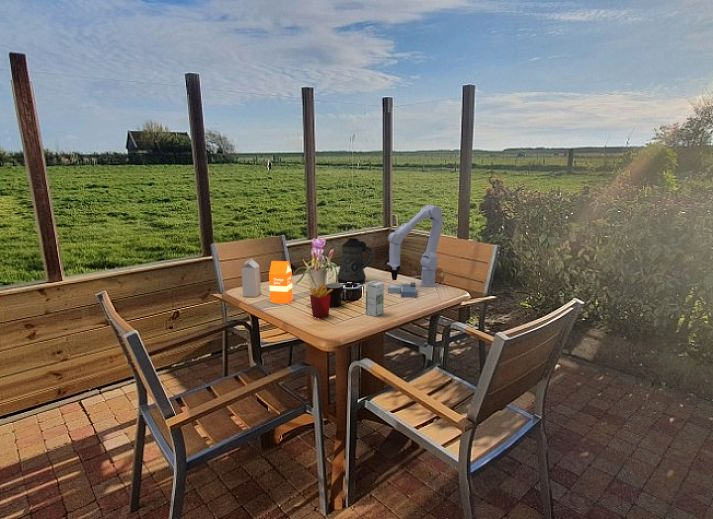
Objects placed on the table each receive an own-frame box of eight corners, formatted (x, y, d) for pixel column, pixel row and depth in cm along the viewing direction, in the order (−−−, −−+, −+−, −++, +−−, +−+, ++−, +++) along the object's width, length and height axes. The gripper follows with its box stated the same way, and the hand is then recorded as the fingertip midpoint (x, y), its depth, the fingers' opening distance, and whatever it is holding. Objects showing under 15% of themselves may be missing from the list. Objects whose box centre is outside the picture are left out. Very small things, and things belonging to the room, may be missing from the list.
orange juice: (287, 303, 203) (285, 263, 199) (270, 302, 205) (268, 262, 201) (292, 298, 211) (291, 259, 207) (276, 298, 212) (274, 259, 208)
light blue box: (388, 290, 225) (388, 284, 224) (400, 290, 224) (400, 284, 224) (387, 293, 219) (387, 287, 218) (400, 293, 218) (400, 287, 218)
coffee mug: (335, 309, 194) (335, 288, 192) (321, 306, 199) (321, 285, 197) (351, 303, 203) (351, 283, 201) (337, 300, 208) (337, 280, 206)
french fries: (309, 316, 185) (308, 283, 182) (324, 312, 191) (323, 280, 187) (322, 321, 179) (322, 287, 176) (337, 317, 184) (336, 283, 181)
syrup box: (373, 311, 192) (373, 280, 189) (383, 313, 188) (384, 282, 185) (365, 314, 188) (365, 282, 185) (376, 317, 184) (376, 284, 181)
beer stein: (334, 279, 248) (333, 237, 243) (365, 276, 254) (365, 235, 249) (341, 286, 233) (340, 241, 228) (374, 283, 238) (374, 239, 233)
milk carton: (261, 293, 221) (259, 257, 217) (256, 297, 214) (254, 260, 210) (247, 293, 221) (245, 257, 218) (243, 296, 215) (240, 260, 211)
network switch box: (401, 289, 226) (401, 281, 225) (415, 290, 225) (415, 282, 224) (400, 297, 212) (401, 288, 211) (415, 297, 211) (416, 289, 210)
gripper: (387, 252, 232) (387, 276, 235) (386, 257, 218) (386, 283, 221) (400, 252, 231) (400, 276, 234) (400, 258, 217) (399, 283, 220)
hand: (394, 279), depth 227 cm, fingers closed
